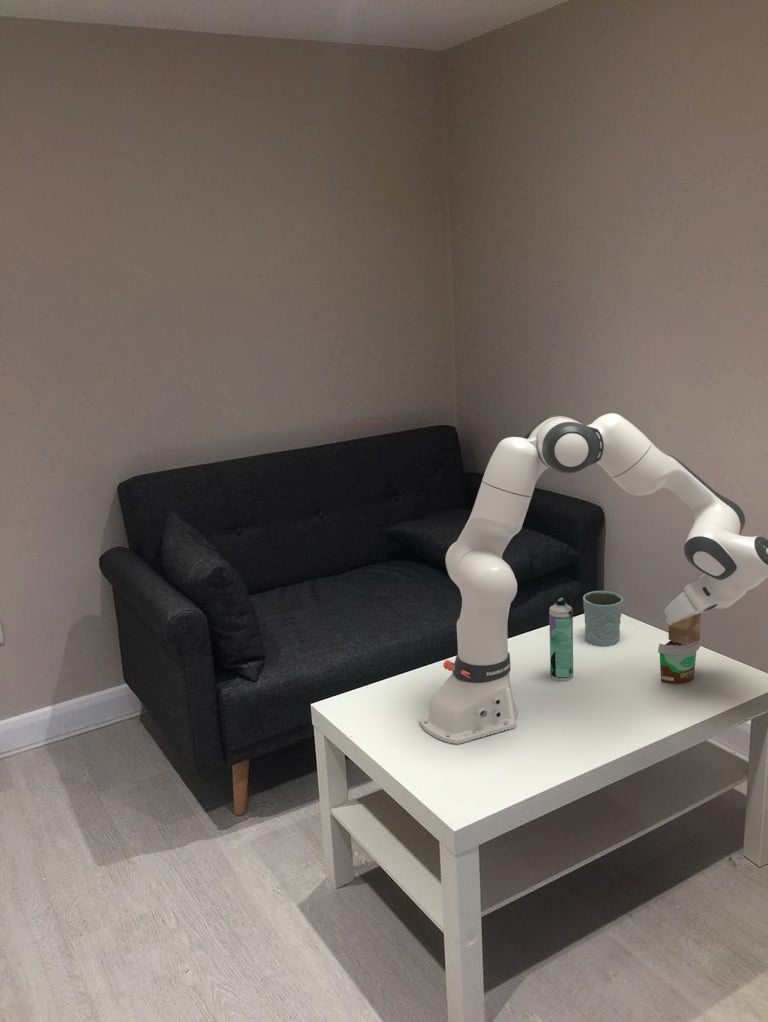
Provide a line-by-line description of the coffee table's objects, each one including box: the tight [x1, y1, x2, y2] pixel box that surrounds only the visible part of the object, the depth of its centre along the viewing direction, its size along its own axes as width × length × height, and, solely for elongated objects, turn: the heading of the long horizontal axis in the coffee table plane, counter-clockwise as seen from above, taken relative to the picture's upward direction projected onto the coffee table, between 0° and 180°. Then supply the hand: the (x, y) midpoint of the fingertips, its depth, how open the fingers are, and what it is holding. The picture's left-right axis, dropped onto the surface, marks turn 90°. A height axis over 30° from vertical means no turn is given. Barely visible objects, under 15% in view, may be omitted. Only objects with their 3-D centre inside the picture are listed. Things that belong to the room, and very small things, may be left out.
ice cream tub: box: [657, 640, 701, 685], centre depth 215 cm, size 12×6×10 cm, turn 131°
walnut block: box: [668, 612, 702, 646], centre depth 213 cm, size 5×5×8 cm
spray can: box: [548, 597, 574, 682], centre depth 220 cm, size 6×6×20 cm
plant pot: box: [582, 590, 624, 647], centre depth 239 cm, size 10×10×12 cm
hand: (682, 616), depth 213 cm, fingers open, 8 cm apart
